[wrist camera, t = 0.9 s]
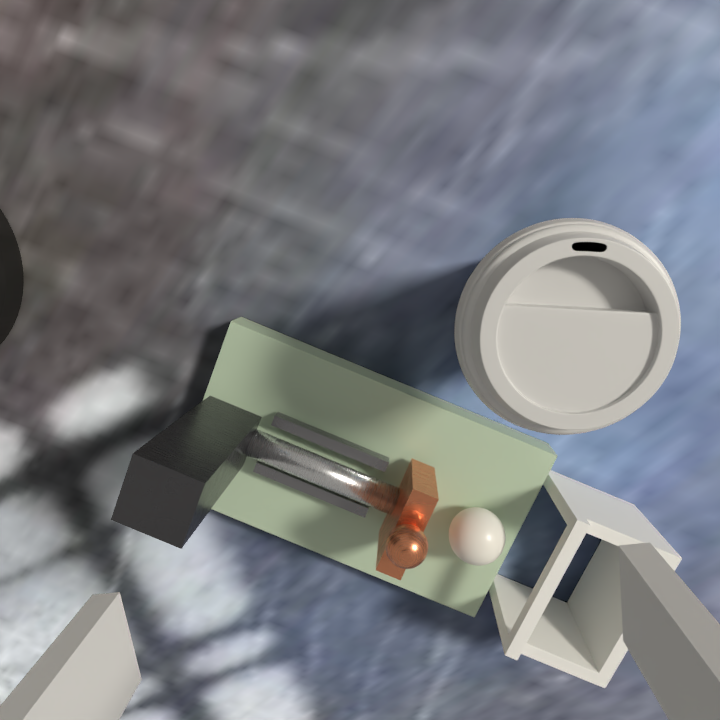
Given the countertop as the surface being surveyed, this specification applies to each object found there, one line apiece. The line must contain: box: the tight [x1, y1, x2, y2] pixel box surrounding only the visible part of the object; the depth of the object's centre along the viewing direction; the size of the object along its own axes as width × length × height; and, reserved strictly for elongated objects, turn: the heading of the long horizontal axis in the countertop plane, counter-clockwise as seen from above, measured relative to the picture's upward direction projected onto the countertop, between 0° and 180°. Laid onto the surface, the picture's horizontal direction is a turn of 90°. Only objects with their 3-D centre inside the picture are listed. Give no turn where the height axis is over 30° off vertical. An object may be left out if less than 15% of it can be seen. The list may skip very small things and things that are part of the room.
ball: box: [449, 507, 506, 566], centre depth 36 cm, size 4×4×4 cm
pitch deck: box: [203, 317, 557, 618], centre depth 39 cm, size 23×13×2 cm, turn 68°
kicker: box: [111, 396, 439, 580], centre depth 32 cm, size 16×6×11 cm, turn 68°
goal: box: [489, 470, 682, 688], centre depth 37 cm, size 7×10×8 cm
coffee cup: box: [454, 218, 681, 435], centre depth 30 cm, size 10×10×15 cm
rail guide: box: [253, 412, 389, 518], centre depth 37 cm, size 8×4×1 cm, turn 68°
